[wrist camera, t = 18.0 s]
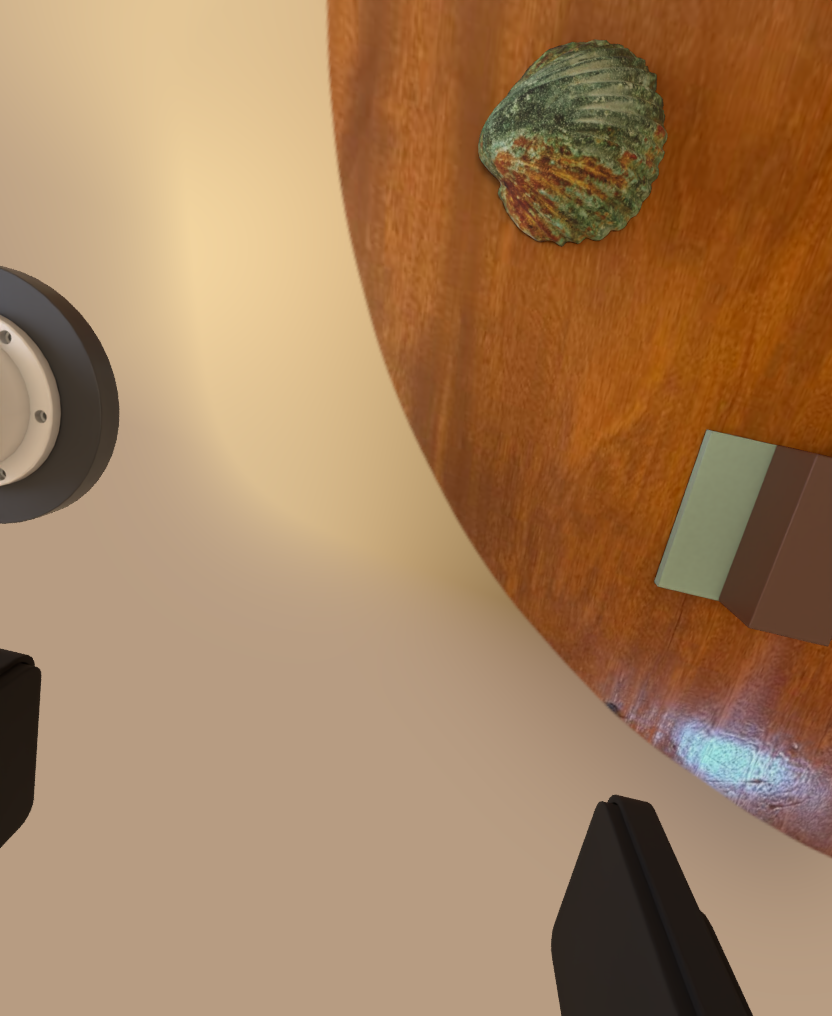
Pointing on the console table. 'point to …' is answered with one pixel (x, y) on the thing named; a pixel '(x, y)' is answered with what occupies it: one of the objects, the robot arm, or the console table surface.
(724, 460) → the mat
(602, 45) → the seashell
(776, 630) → the brown rectangular block
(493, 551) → the console table surface
